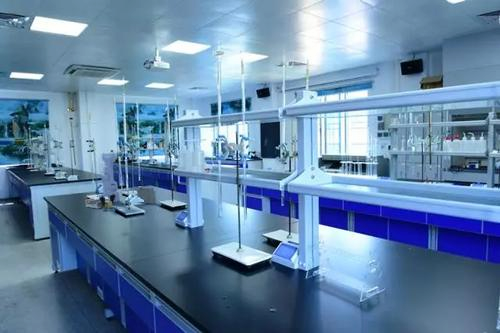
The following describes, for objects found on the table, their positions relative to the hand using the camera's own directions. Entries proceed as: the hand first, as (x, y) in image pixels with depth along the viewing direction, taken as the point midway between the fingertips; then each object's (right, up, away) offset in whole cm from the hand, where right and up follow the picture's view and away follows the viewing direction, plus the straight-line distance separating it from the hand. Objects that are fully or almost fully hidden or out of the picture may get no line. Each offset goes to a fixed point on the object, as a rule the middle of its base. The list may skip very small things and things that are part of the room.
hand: (108, 204), depth 282 cm
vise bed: (-9, -2, +6) cm, 11 cm away
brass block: (0, -2, 0) cm, 2 cm away
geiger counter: (+25, 0, +16) cm, 30 cm away
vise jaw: (-18, 0, +12) cm, 21 cm away
